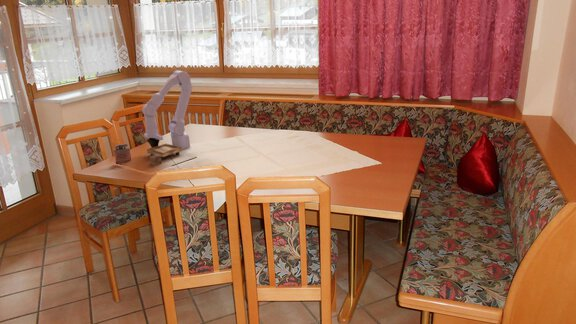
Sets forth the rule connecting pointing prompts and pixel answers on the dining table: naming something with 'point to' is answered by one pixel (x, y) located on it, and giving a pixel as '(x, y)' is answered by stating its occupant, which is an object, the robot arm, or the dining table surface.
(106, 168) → the dining table surface
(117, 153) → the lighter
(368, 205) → the dining table surface
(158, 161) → the block
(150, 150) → the tray
